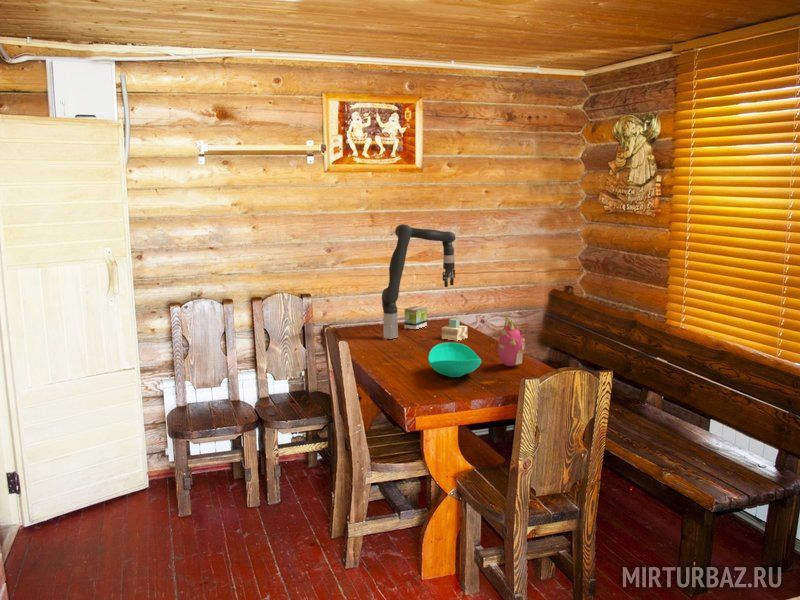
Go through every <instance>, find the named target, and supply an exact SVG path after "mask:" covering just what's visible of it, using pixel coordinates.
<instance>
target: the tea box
mask: <svg viewBox="0 0 800 600" xmlns="http://www.w3.org/2000/svg"><path fill="white" fill-rule="evenodd" d="M427 316H428V308H427V306H421V305H414V306H413V305H412V306H411V307H407V308H404V329H405V328H410V329H419V328H422V327H425V326H427V327H428V317H427ZM425 328H426V327H425ZM422 329H423V328H422ZM419 330H420V329H419Z"/></svg>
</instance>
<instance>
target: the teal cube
mask: <svg viewBox="0 0 800 600" xmlns="http://www.w3.org/2000/svg"><path fill="white" fill-rule="evenodd" d="M448 325H449V327H452V328H457V327H459V325H460V318H453V317H452V318H450V319H448Z"/></svg>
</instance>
